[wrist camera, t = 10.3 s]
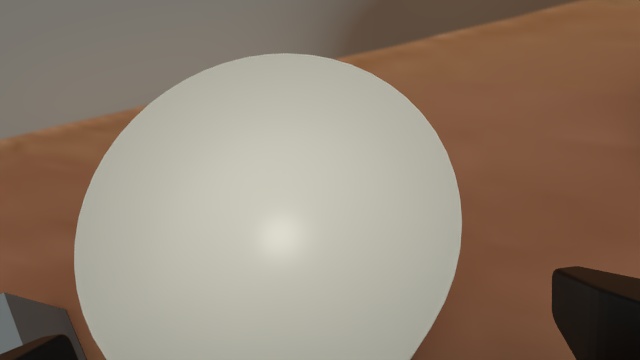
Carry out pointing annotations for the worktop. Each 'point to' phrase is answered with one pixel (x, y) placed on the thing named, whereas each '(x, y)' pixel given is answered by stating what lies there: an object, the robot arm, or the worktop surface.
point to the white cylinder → (270, 220)
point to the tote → (32, 323)
